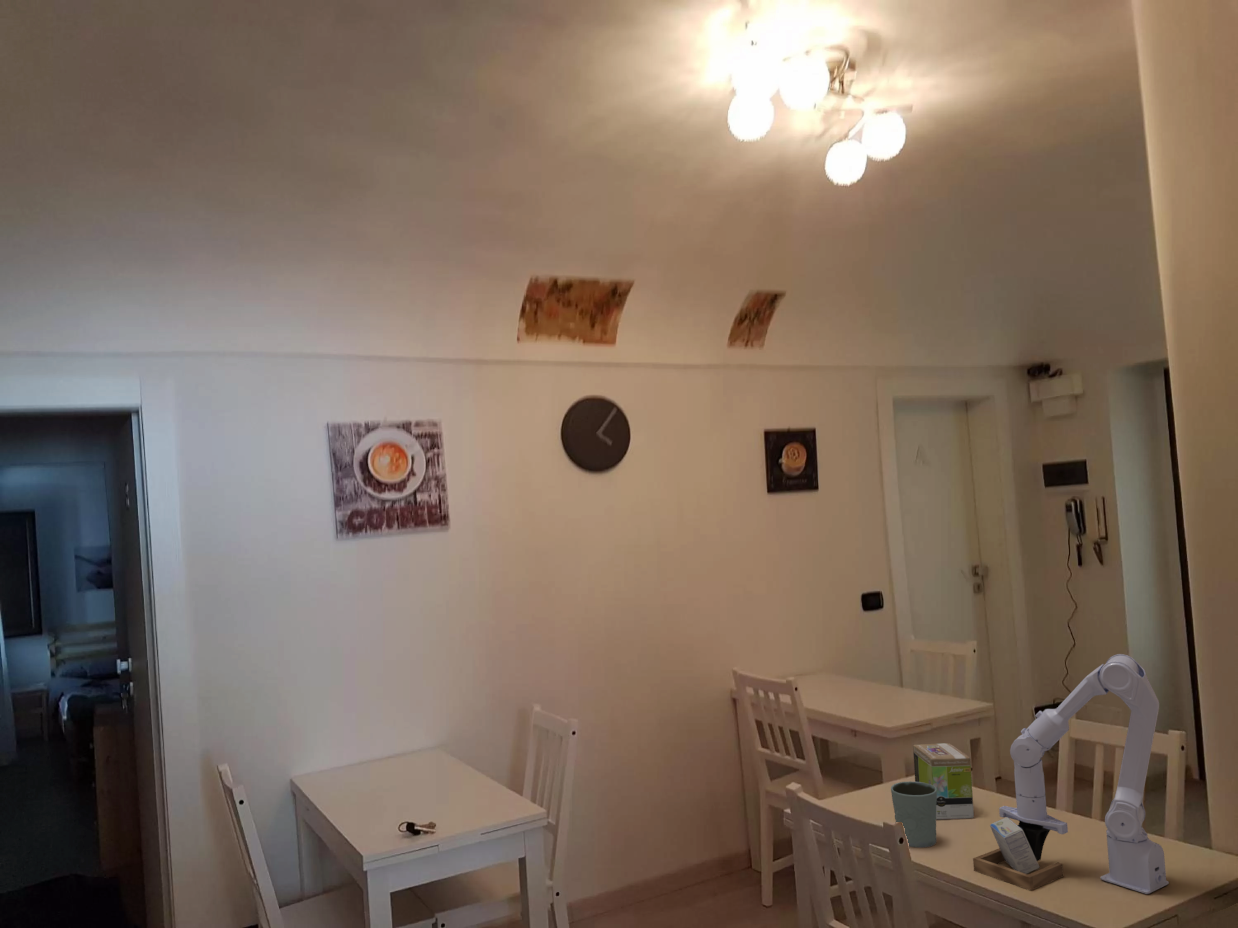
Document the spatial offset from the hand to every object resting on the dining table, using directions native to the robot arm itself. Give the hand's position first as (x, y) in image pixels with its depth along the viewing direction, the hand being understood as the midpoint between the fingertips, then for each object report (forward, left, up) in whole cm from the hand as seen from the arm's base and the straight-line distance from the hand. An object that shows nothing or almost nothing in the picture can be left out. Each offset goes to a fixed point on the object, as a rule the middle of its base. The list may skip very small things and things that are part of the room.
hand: (1035, 859), depth 193 cm
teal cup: (+25, +7, -2) cm, 26 cm away
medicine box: (+1, +3, -1) cm, 3 cm away
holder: (0, +6, -1) cm, 6 cm away
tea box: (+35, -15, -2) cm, 38 cm away
